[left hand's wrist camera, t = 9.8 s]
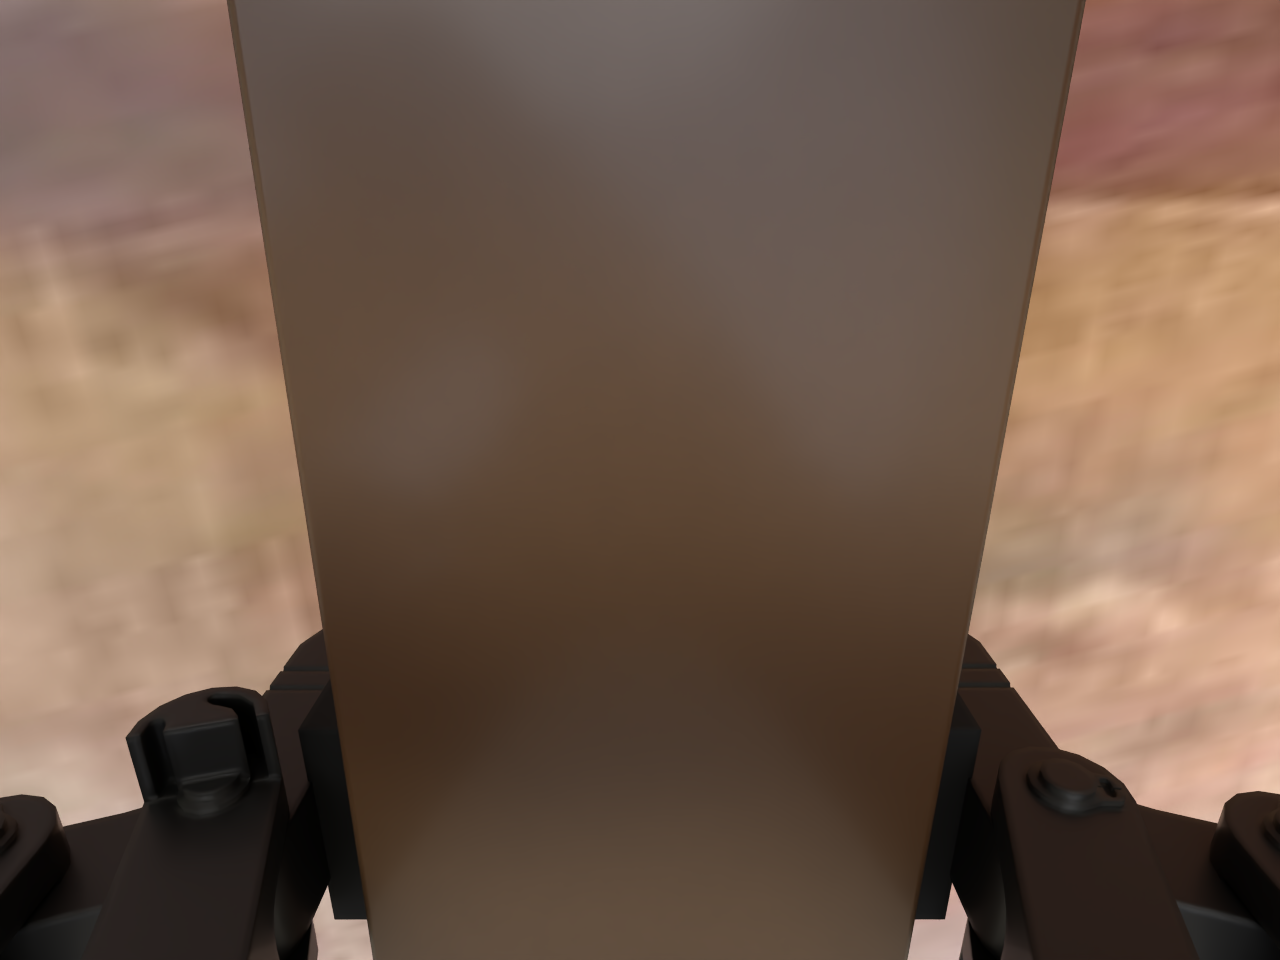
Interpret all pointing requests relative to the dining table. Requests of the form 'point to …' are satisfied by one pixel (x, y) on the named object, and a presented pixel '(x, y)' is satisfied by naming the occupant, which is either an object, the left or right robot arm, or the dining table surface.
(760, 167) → the post
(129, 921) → the left robot arm
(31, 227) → the dining table surface
